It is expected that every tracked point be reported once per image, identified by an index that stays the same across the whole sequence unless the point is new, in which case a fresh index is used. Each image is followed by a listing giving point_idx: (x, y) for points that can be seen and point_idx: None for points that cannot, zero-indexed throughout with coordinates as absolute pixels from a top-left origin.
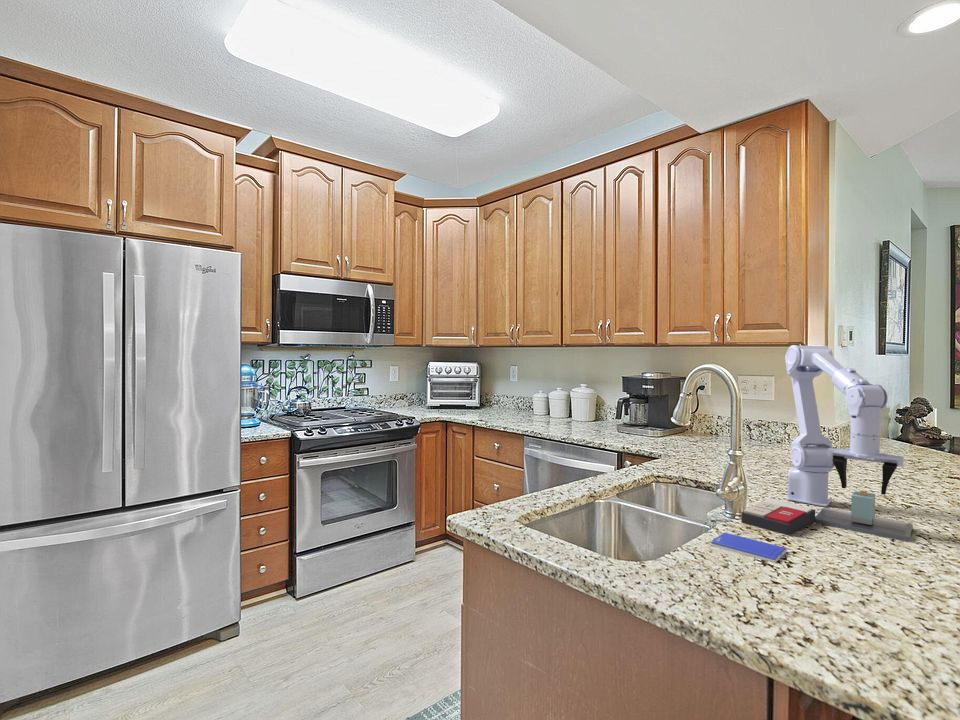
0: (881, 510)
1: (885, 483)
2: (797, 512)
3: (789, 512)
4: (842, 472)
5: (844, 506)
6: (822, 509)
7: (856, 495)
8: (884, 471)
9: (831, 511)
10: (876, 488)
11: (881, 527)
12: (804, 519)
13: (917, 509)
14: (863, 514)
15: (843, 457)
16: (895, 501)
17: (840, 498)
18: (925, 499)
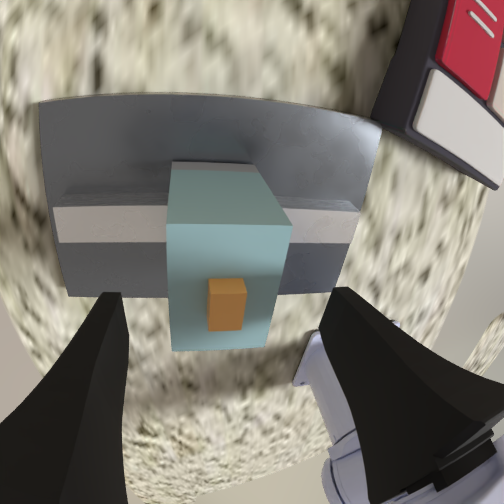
0: (179, 390)
1: (76, 350)
2: (460, 38)
3: (478, 22)
4: (410, 359)
5: (263, 368)
6: (338, 273)
7: (264, 246)
8: (52, 451)
9: (330, 207)
10: (209, 468)
11: (137, 170)
12: (426, 24)
13: (123, 424)
14: (209, 178)
15: (448, 481)
16: (169, 441)
17: (269, 409)
18: (135, 461)
